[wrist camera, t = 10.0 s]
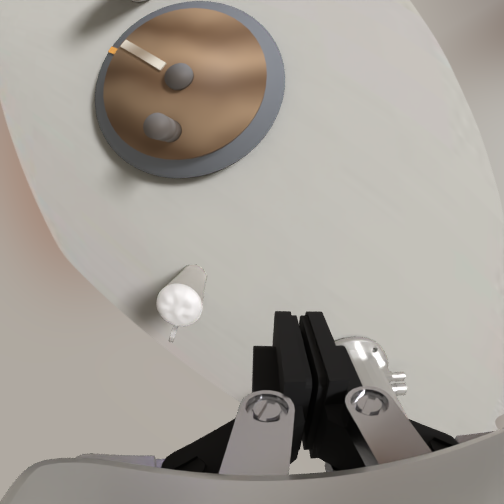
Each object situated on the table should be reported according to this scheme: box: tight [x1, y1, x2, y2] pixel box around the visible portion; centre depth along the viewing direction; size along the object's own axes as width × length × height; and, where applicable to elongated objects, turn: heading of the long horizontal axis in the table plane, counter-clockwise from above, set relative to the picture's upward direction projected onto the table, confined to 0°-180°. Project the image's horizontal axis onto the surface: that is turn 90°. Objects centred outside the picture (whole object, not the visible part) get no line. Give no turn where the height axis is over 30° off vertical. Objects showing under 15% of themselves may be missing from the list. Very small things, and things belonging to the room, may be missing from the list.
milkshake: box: [156, 265, 207, 342], centre depth 32 cm, size 4×5×10 cm
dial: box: [103, 8, 267, 160], centre depth 26 cm, size 18×18×6 cm
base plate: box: [95, 1, 285, 178], centre depth 30 cm, size 22×22×2 cm
